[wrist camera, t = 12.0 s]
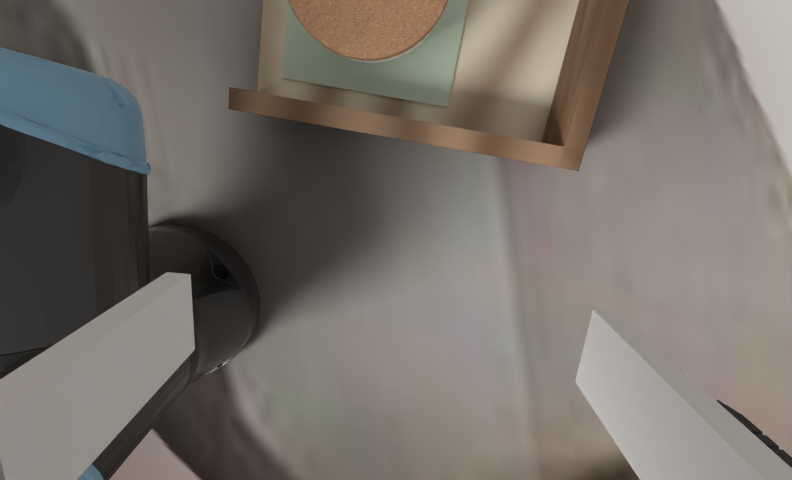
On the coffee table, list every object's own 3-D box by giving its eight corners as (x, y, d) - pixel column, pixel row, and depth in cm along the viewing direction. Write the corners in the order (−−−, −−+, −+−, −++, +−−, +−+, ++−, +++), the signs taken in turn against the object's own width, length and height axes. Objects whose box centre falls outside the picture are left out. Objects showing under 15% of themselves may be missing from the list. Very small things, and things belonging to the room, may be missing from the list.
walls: (258, 110, 35) (228, 108, 30) (275, -140, 30) (244, -202, 24) (551, 162, 36) (578, 170, 30) (617, -76, 31) (664, -121, 25)
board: (258, 110, 35) (255, 110, 35) (275, -140, 30) (273, -145, 30) (551, 162, 36) (553, 163, 35) (617, -76, 31) (621, -80, 30)
